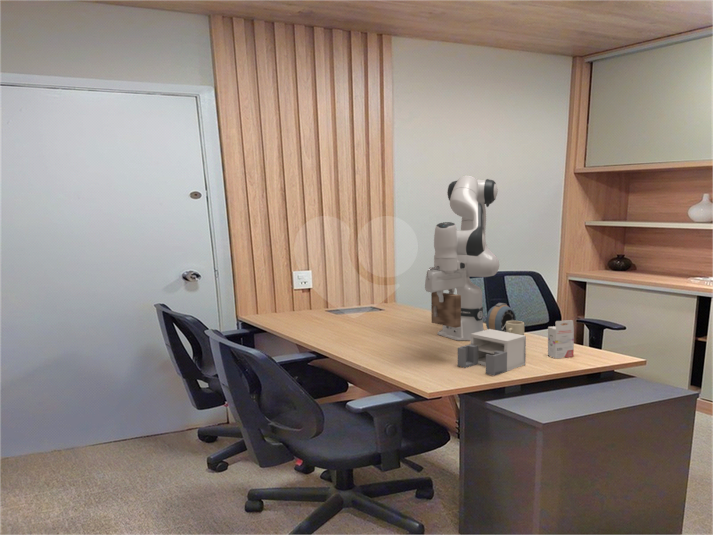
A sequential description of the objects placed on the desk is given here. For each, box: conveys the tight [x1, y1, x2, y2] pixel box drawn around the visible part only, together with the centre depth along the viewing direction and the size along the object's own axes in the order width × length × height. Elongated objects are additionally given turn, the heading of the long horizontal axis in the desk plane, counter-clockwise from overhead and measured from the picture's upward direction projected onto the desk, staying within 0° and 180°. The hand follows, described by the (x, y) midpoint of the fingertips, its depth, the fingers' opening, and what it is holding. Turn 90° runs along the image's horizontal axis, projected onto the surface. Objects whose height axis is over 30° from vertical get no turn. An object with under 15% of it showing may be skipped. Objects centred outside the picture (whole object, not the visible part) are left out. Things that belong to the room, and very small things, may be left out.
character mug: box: [506, 320, 525, 335], centre depth 204 cm, size 11×7×13 cm, turn 138°
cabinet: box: [457, 328, 527, 377], centre depth 189 cm, size 16×20×11 cm
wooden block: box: [430, 292, 461, 328], centre depth 195 cm, size 12×4×12 cm, turn 40°
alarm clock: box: [485, 302, 517, 332], centre depth 222 cm, size 14×10×18 cm
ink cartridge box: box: [547, 319, 575, 359], centre depth 200 cm, size 9×5×15 cm, turn 105°
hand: (445, 301), depth 195 cm, fingers closed on wooden block, 3 cm apart
